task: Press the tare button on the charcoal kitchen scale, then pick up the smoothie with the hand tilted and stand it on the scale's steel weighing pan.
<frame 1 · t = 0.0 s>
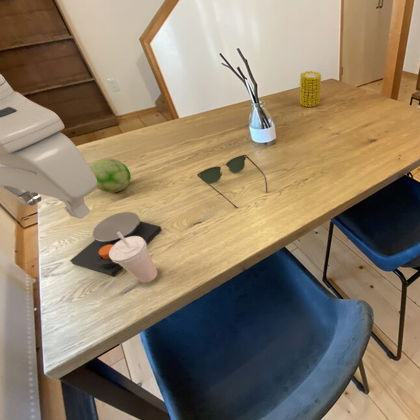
hand: (57, 208, 40), 25 cm above the table, tool pointing down, fingers open, 8 cm apart
smoothie: (148, 276, 61), on the table
sunglasses: (238, 188, 84), on the table
scale pan: (117, 227, 68), resting on scale
tare button: (108, 252, 62), point 4 cm above the table, slide at 0.1 cm
decorative ball: (119, 189, 84), on the table
food: (310, 104, 132), on the table
scale: (120, 246, 67), on the table
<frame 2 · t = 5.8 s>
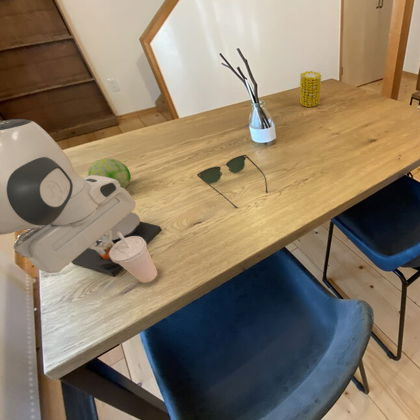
hand: (107, 249, 61), 4 cm above the table, tool pointing down, fingers closed, pressing on tare button
tare button: (109, 252, 62), point 3 cm above the table, slide at -0.1 cm, touching gripper
everything else where it was.
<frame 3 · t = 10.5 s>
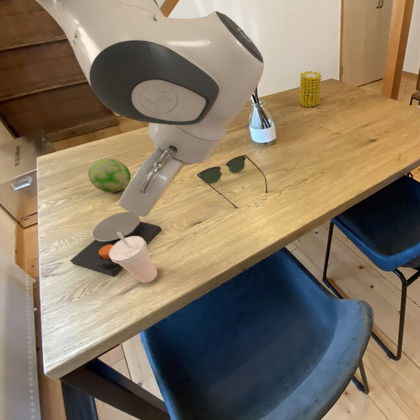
hand: (151, 192, 46), 23 cm above the table, tool tilted 40°, fingers closed
tare button: (108, 252, 62), point 3 cm above the table, slide at 0.1 cm
everything else where it was.
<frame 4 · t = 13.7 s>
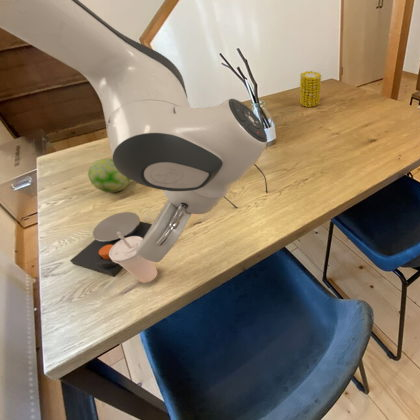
hand: (159, 228, 51), 15 cm above the table, tool tilted 45°, fingers open, 8 cm apart
nothing on the table moved.
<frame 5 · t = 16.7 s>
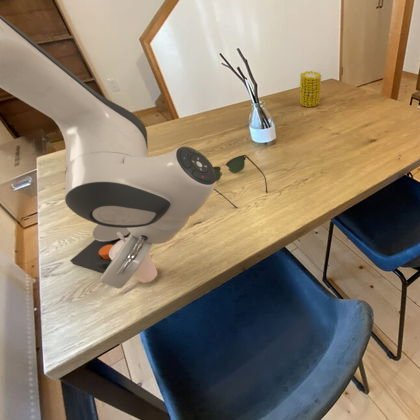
hand: (128, 253, 56), 8 cm above the table, tool tilted 45°, fingers closed on smoothie, 6 cm apart
smoothie: (148, 276, 61), on the table, touching gripper
everything else where it was.
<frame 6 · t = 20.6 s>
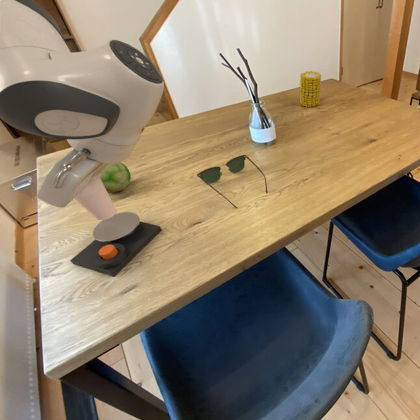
hand: (80, 184, 52), 21 cm above the table, tool tilted 45°, fingers closed on smoothie, 6 cm apart
smoothie: (106, 214, 57), point 13 cm above the table, touching gripper
everything else where it was.
when the fingers open (11 cm above the table, at t = 24.8 s): smoothie stays where it is, resting on scale pan.
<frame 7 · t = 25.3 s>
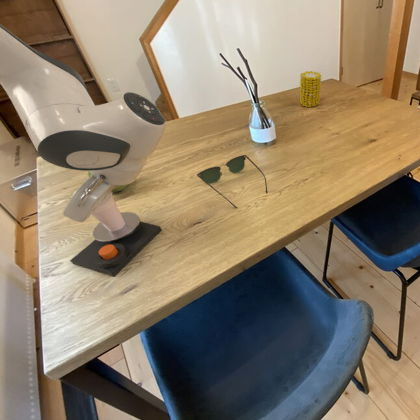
hand: (94, 200, 62), 12 cm above the table, tool tilted 45°, fingers open, 8 cm apart
smoothie: (117, 226, 68), point 3 cm above the table, touching scale pan
everything else where it was.
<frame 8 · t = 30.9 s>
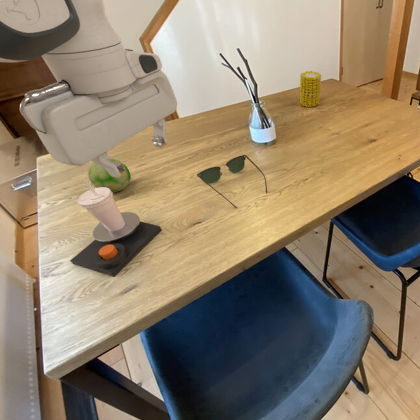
hand: (141, 159, 46), 27 cm above the table, tool pointing down, fingers open, 8 cm apart
nothing on the table moved.
at the end: tare button pushed in 0.9 cm at the most during the clip, back to where it started at the end; smoothie 0.1 cm from the target spot, point 3.4 cm above the table; smoothie tilted 0° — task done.
